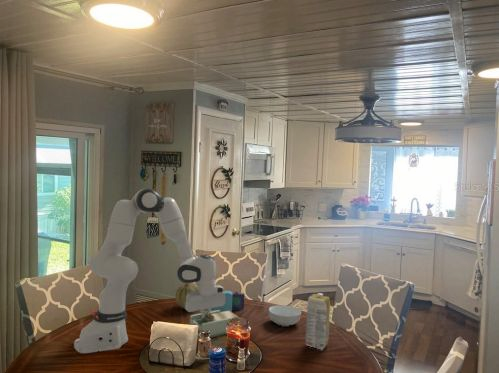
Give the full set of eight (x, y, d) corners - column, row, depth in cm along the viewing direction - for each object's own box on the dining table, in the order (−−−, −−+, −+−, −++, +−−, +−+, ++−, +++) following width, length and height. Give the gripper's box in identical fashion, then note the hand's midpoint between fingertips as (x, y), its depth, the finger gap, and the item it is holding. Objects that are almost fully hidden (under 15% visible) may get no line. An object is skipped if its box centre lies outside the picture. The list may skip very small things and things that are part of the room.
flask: (227, 309, 224) (228, 290, 223) (227, 307, 226) (228, 289, 226) (243, 310, 224) (244, 291, 223) (243, 308, 227) (244, 289, 226)
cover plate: (211, 324, 188) (212, 317, 188) (202, 318, 196) (202, 311, 196) (238, 319, 197) (238, 311, 197) (228, 312, 204) (228, 306, 204)
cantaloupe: (202, 304, 231) (203, 278, 230) (201, 313, 216) (201, 286, 215) (176, 303, 230) (177, 278, 229) (173, 312, 215) (174, 285, 214)
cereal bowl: (306, 328, 202) (307, 314, 201) (276, 331, 196) (277, 317, 195) (290, 316, 217) (291, 303, 217) (263, 319, 211) (263, 306, 211)
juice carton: (329, 345, 182) (331, 294, 181) (323, 352, 175) (325, 298, 174) (310, 340, 187) (312, 290, 186) (303, 346, 180) (306, 294, 179)
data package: (231, 312, 219) (232, 290, 219) (231, 315, 215) (232, 293, 214) (209, 311, 219) (210, 290, 219) (209, 314, 215) (209, 292, 214)
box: (202, 339, 183) (202, 324, 183) (189, 329, 194) (190, 315, 194) (231, 332, 192) (232, 318, 192) (218, 323, 203) (218, 309, 203)
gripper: (189, 294, 182) (188, 323, 183) (227, 287, 194) (226, 315, 194) (183, 290, 187) (182, 319, 188) (220, 284, 199) (220, 311, 199)
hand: (205, 317), depth 191 cm, fingers closed
